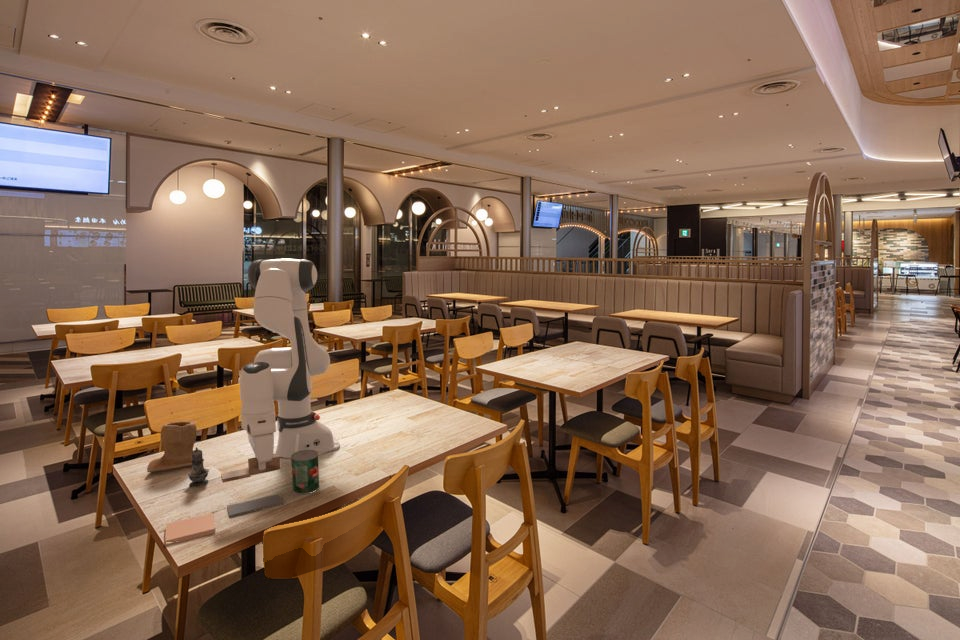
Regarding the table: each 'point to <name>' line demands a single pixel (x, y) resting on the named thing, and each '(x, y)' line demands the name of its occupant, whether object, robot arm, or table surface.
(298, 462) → the canned tomato
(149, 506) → the table surface
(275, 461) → the wooden l-shaped bracket
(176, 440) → the tan suede boot
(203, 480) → the dark grey stupa figurine
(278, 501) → the grey flat slab
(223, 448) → the table surface
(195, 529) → the tile
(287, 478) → the table surface
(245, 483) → the table surface
